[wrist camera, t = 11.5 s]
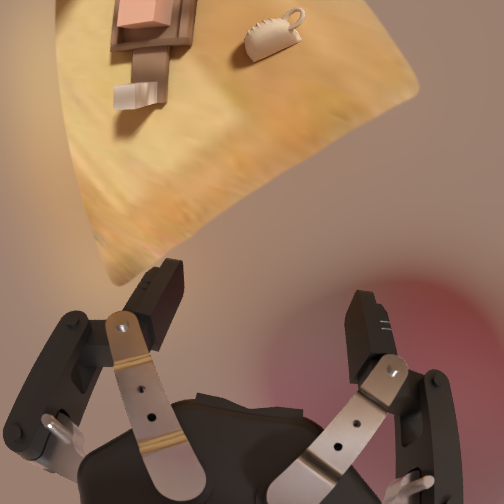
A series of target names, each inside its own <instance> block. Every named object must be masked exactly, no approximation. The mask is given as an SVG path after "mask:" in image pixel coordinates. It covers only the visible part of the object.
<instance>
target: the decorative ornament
mask: <svg viewBox="0 0 504 504" xmlns="http://www.w3.org/2000/svg"><path fill="white" fill-rule="evenodd" d="M297 11H299V12H300V13H301V15H300V18H299V20H298V21H297V22H296V23H294V24H293V25H291V24H290V23H289V22H288V21H287V19H288V18H289V16H290V15H291V14H293V13H294V12H297ZM304 19H305V11H304V10H303V9H302V8H299V7H297V8H293V9H291V10H289V11H288V12H287V13H285V15H284V16H283V17H282V18H281V19H279V18H275V19H269V20H266V21H265V20H263V21H262V22H261V23H256V26H254V27H253V26H252V29H250V30H248V33H247V34H245V38H244V41H245V50H246V53H247V54H248V56H249V57H250V58H251V60H252V61H253V62H256V61H258V60H261V59H263V58H265V57H267V56H269V55H271V54H274V53H276V52H278V51H280V50H282V49H284V48H287V47H289V46H291V45H294V44H296V43H299V42H300V41H302V39H301V37H300V35H299V33H298V32H297V30H296V28H297V27H298V26H300V25H301V23H302V22H303V21H304Z"/></svg>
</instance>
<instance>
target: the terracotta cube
mask: <svg viewBox="0 0 504 504" xmlns="http://www.w3.org/2000/svg"><path fill="white" fill-rule="evenodd" d="M172 6H173V0H120V4H119V11H118V20H117V27H123V28H130V29H136V30H138V29H145V28H153V27H163V26H170V23H171V14H172Z"/></svg>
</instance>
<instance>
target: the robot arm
mask: <svg viewBox="0 0 504 504" xmlns="http://www.w3.org/2000/svg"><path fill="white" fill-rule="evenodd" d="M183 293H184V272H183V261H181V260H176V259H170V258H166V259H165V260H164V262H163V263H162V265H161V267H160V268H159V267H153V268H152V269H150V270H149V271H148V272H146V273H145V275H144V276H143V278H142V279H141V282H140V283H139V284H138V286H137V288H136V289H135V291H134V292H133V294H132V296H131V297H130V299H129V300H128V302H127V303H126V305H125V307H124V308H123V310H122V311H118V312H115V313H113V314H112V315H110V316H109V317H108V319H107V320H88V317H87V315H86V314H85V313H84V312H81V311H71V312H68V313H66V314H65V315H64V316H63V317H62V318H61V320H60V321H59V323H58V324H57V326H56V328H55V329H54V331H53V333H52V334H51V336H50V338H49V339H48V341H47V343H46V344H45V346H44V348H43V350H42V352H41V353H40V355H39V357H38V358H37V360H36V362H35V364H34V366H33V367H32V369H31V371H30V373H29V375H28V377H27V379H26V381H25V383H24V385H23V387H22V389H21V391H20V393H19V395H18V397H17V399H16V401H15V403H14V405H13V408H12V410H11V412H10V414H9V416H8V419H7V421H6V423H5V426H4V429H3V438H4V441H5V444H6V445H7V447H8V448H9V449H11V450H12V451H14V452H15V453H17V454H18V455H20V456H21V457H22V458H23V459H25V460H27V461H28V462H30V463H32V464H34V465H35V466H37V467H39V468H42V469H44V470H46V471H48V472H50V473H57V474H59V475H61V476H63V477H65V478H67V479H70V480H72V481H74V482H76V483H77V484H78V489H79V493H80V501H81V504H463V477H462V462H461V451H460V443H459V434H458V427H457V421H456V414H455V409H454V403H453V398H452V393H451V389H450V383H449V380H448V378H447V376H446V375H445V374H444V373H442V372H441V371H439V370H435V369H434V370H433V369H432V370H429V371H428V372H427V373H426V374H425V375H423V374H420V373H417V372H414V371H411V370H409V369H408V366H407V364H406V362H405V361H404V360H403V359H402V358H401V357H399V356H398V355H397V350H396V346H395V342H394V338H393V334H392V330H391V325H390V323H389V318H388V314H387V312H386V310H385V309H384V307H383V306H382V305H381V304H376V300H375V296H374V293H373V292H370V291H363V290H357V291H356V292H355V294H354V297H353V299H352V301H351V304H350V306H349V308H348V311H347V313H346V317H345V323H344V324H345V335H346V344H347V355H348V364H349V365H348V366H349V379H350V383H353V384H358V390H357V392H356V393H355V394H354V395H353V397H352V398H351V399H350V400H349V402H348V403H347V404H346V405H345V406H344V408H343V409H342V410H341V411H340V413H339V414H338V415H337V416H336V417H335V418H334V419H333V421H332V422H331V423H330V424H329V425H328V426H327V427H326V429H325V430H324V429H323V428H322V427H321V426H320V425H318V424H317V423H315V422H314V421H312V420H310V419H308V418H306V417H303V409H292V408H284V407H283V408H282V407H270V408H258V409H248V408H245V407H243V406H240V405H238V404H235V403H233V402H231V401H229V400H226V399H224V398H220V397H215V396H210V395H206V394H201V393H197V395H196V399H189V400H182V401H178V402H175V403H172V404H170V402H169V400H168V397H167V395H166V393H165V390H164V388H163V386H162V383H161V381H160V378H159V376H158V373H157V371H156V368H155V365H154V363H153V360H152V358H151V355H150V354H149V353H150V351H151V350H154V351H159V350H160V347H161V345H162V343H163V340H164V338H165V336H166V333H167V331H168V329H169V327H170V324H171V322H172V320H173V318H174V315H175V313H176V311H177V308H178V306H179V304H180V302H181V299H182V297H183ZM103 367H113V368H114V372H115V376H116V379H117V383H118V386H119V390H120V393H121V397H122V400H123V402H124V406H125V409H126V412H127V415H128V418H129V421H130V424H131V427H132V428H131V429H130V430H128V431H126V432H125V433H123V434H121V435H120V436H118V437H116V438H115V439H113V440H111V441H109V442H108V443H106V444H104V445H102V446H101V447H99V448H97V449H95V450H94V451H92V452H90V453H89V454H88V455H86V456H85V454H84V451H83V445H84V435H83V433H82V431H81V430H80V428H79V425H80V422H81V419H82V416H83V414H84V411H85V409H86V406H87V404H88V401H89V398H90V396H91V394H92V391H93V389H94V386H95V384H96V382H97V380H98V377H99V375H100V373H101V370H102V368H103ZM387 413H391V414H394V419H395V443H396V480H394V481H393V482H391V484H390V485H389V486H388V488H387V491H386V495H385V498H384V500H383V501H382V503H381V501H380V499H379V498H378V497H377V495H376V494H375V493H374V492H373V491H372V489H371V488H370V487H369V486H368V485H367V483H366V482H365V481H364V479H363V478H362V477H361V476H360V474H359V473H358V472H357V471H356V469H355V468H354V467H353V466H352V463H353V461H354V460H355V459H356V458H357V456H358V455H359V453H360V452H361V451H362V450H363V448H364V447H365V446H366V444H367V443H368V442H369V440H370V439H371V437H372V436H373V434H374V433H375V432H376V430H377V429H378V427H379V426H380V424H381V423H382V421H383V420H384V418H385V417H386V415H387Z"/></svg>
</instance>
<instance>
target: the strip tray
mask: <svg viewBox="0 0 504 504" xmlns="http://www.w3.org/2000/svg"><path fill="white" fill-rule="evenodd" d="M119 4H120V0H116V1H115V9H114V17H113V26H112V37H111V50H110V52H121V51H129V50H133V62H132V83H131V84H124V85H118V86H114V110H125V109H137V108H140V107H144V106H147V105H151V104H155V103H165V102H167V93H168V74H169V60H170V47H173V46H192V42H193V32H194V23H195V14H196V6H197V0H173V6H172V14H171V23H170V26H163V27H153V28H145V29H138V30H136V29H130V28H123V27H117V20H118V11H119Z"/></svg>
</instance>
